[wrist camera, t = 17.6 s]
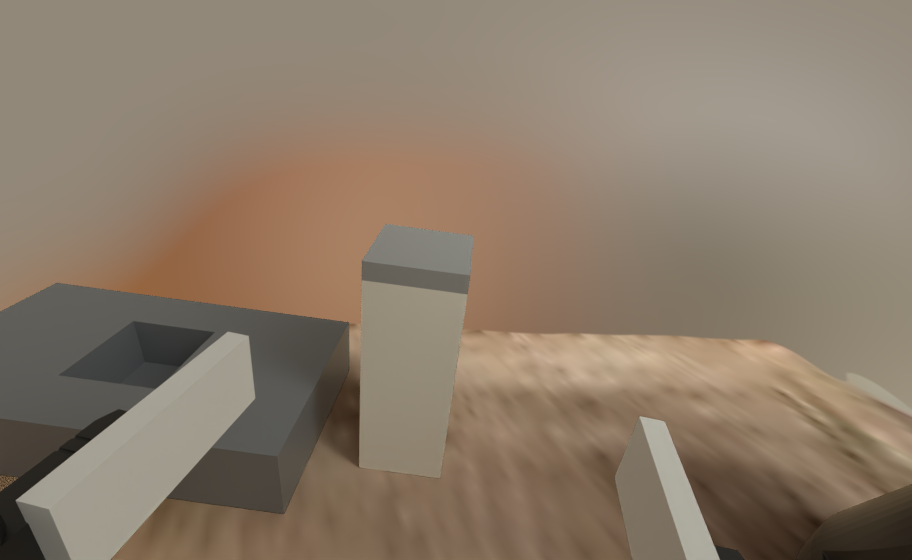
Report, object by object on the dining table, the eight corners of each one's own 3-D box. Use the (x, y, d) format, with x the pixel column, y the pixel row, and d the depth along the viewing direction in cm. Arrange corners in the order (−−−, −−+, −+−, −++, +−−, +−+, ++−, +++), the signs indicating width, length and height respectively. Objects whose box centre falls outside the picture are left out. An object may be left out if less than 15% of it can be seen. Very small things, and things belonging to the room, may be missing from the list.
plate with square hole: (349, 369, 33) (349, 322, 31) (284, 513, 23) (277, 456, 21) (74, 332, 33) (56, 282, 31) (-119, 458, 23) (-166, 395, 21)
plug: (447, 417, 30) (473, 235, 24) (440, 478, 26) (470, 275, 19) (377, 408, 30) (385, 224, 24) (358, 467, 26) (361, 260, 19)
